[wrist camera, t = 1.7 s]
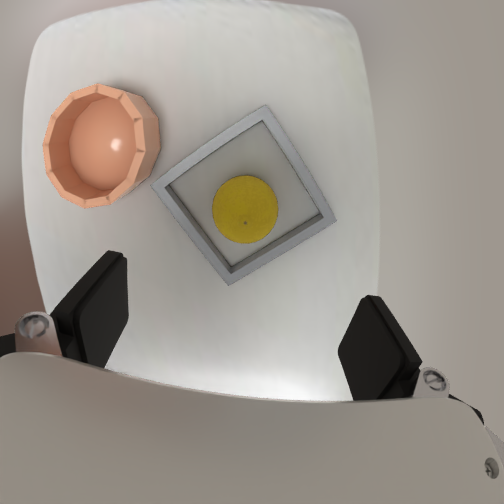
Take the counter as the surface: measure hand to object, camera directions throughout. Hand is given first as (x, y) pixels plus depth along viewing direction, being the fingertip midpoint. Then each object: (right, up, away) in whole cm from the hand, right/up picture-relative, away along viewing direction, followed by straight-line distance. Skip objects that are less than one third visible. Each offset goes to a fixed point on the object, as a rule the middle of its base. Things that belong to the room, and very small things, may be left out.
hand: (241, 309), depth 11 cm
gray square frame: (0, +7, +17) cm, 19 cm away
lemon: (0, +8, +17) cm, 19 cm away
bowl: (-14, +13, +14) cm, 24 cm away
